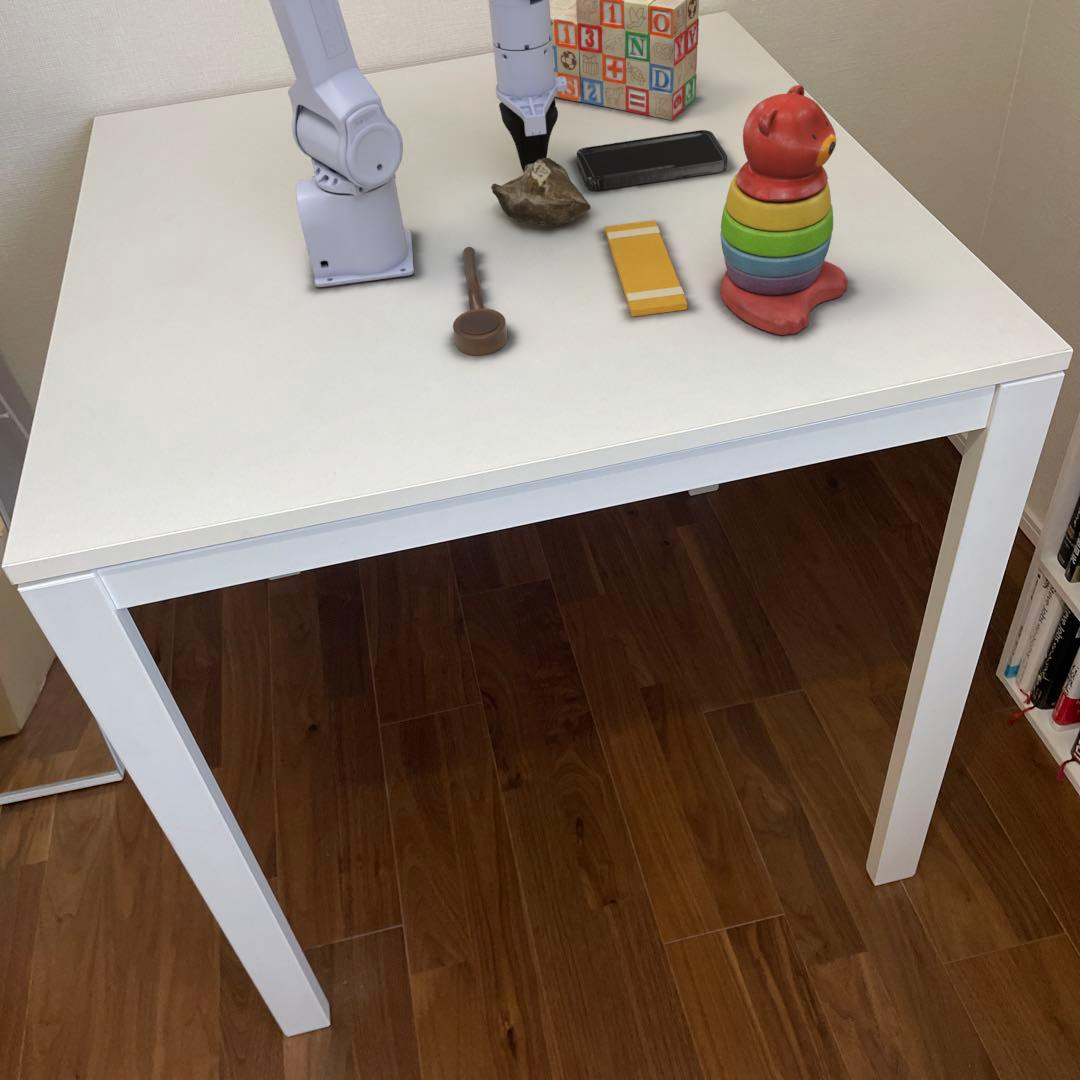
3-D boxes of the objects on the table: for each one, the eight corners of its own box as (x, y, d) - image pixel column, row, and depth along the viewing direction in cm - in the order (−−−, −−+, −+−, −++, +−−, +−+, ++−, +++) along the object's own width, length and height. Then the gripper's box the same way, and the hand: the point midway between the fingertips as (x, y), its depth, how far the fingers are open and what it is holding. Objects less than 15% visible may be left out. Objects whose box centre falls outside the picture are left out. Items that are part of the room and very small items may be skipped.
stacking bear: (791, 342, 93) (811, 140, 80) (692, 305, 98) (697, 109, 86) (856, 284, 98) (884, 86, 86) (759, 251, 104) (772, 60, 91)
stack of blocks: (515, 91, 133) (505, -17, 125) (542, 71, 137) (534, -35, 128) (673, 120, 124) (674, 7, 116) (697, 98, 128) (700, -14, 119)
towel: (631, 317, 98) (631, 309, 97) (604, 232, 108) (604, 225, 108) (687, 309, 98) (687, 301, 97) (655, 226, 108) (655, 218, 108)
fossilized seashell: (471, 201, 110) (546, 244, 106) (495, 136, 107) (574, 178, 103) (513, 208, 116) (585, 249, 112) (537, 146, 113) (612, 187, 109)
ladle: (446, 258, 107) (443, 241, 106) (492, 252, 107) (490, 235, 106) (457, 358, 95) (454, 340, 94) (509, 351, 95) (507, 333, 94)
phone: (574, 149, 119) (709, 128, 120) (575, 158, 119) (709, 138, 120) (588, 182, 113) (730, 160, 114) (589, 192, 114) (730, 170, 115)
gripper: (574, 63, 101) (581, 200, 110) (553, 7, 111) (562, 137, 121) (497, 73, 101) (511, 209, 110) (484, 16, 111) (498, 145, 120)
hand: (533, 172), depth 115 cm, fingers closed
